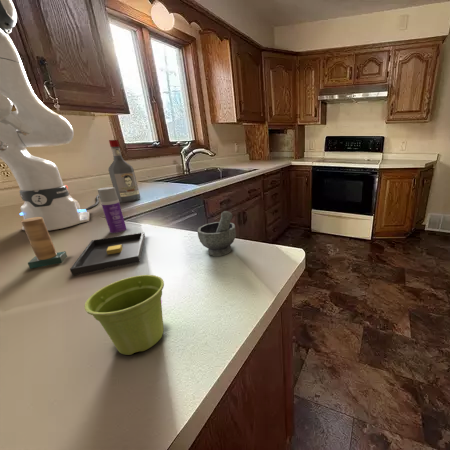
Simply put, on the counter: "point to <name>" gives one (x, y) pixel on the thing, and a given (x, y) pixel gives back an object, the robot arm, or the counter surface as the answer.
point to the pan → (99, 259)
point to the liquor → (122, 176)
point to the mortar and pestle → (218, 235)
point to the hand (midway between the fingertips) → (17, 140)
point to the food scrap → (114, 249)
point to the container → (112, 209)
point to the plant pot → (130, 312)
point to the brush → (41, 243)
